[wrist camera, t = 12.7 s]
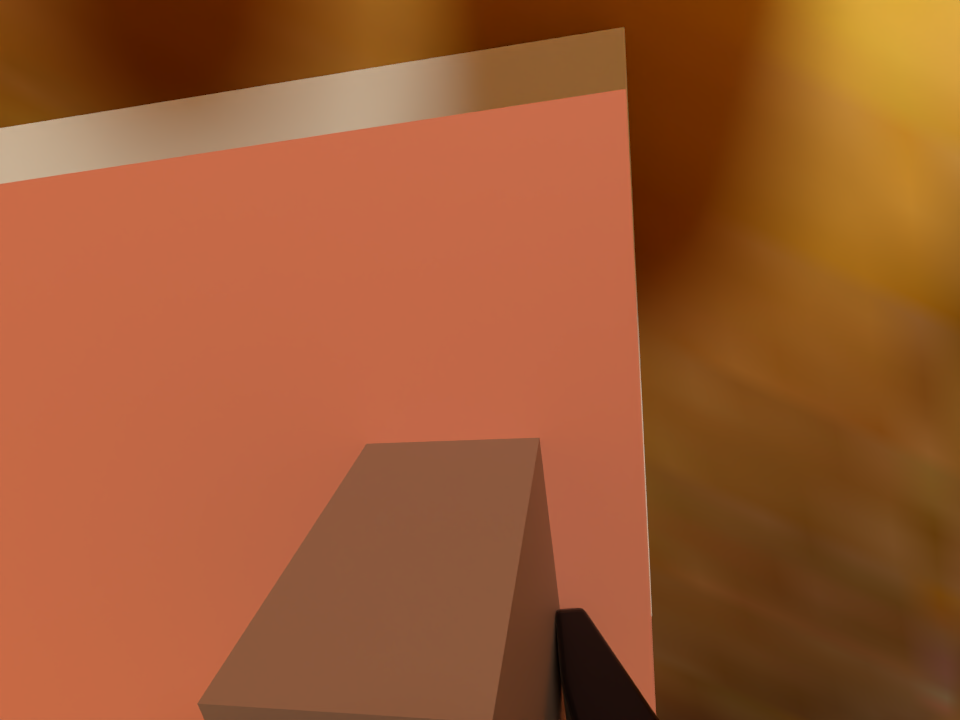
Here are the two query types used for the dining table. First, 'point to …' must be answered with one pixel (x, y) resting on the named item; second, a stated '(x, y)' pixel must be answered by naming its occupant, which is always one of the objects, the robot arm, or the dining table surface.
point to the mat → (323, 109)
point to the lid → (324, 425)
